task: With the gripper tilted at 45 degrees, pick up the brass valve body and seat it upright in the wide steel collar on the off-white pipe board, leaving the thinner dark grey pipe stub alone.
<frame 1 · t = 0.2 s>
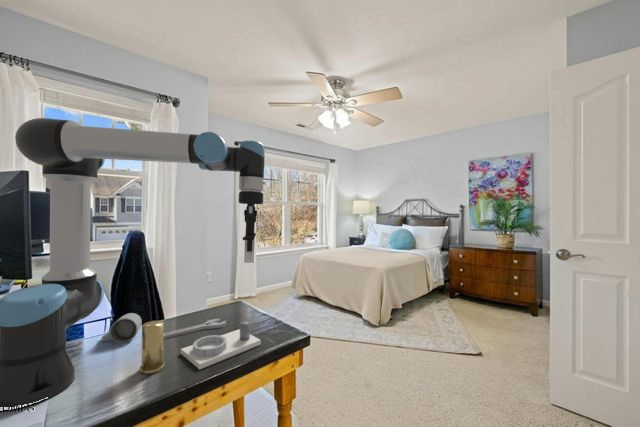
hand: (249, 259, 90), 28 cm above the table, tool pointing down, fingers open, 13 cm apart
pipe board: (222, 349, 88), on the table
ceramic mug: (122, 339, 94), on the table
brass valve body: (152, 368, 77), on the table
adjustable wrench: (189, 332, 101), on the table
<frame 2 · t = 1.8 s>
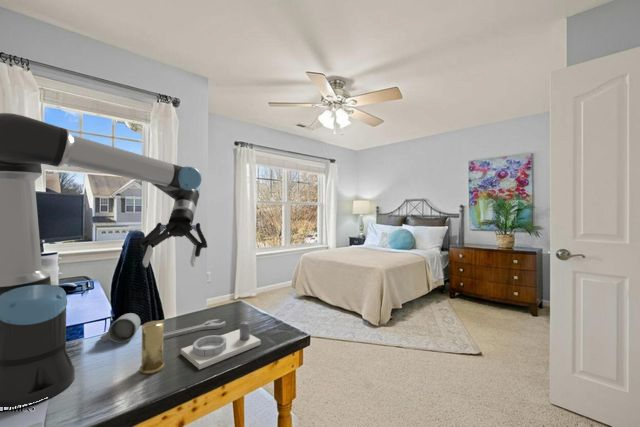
hand: (168, 264, 89), 26 cm above the table, tool tilted 45°, fingers open, 13 cm apart
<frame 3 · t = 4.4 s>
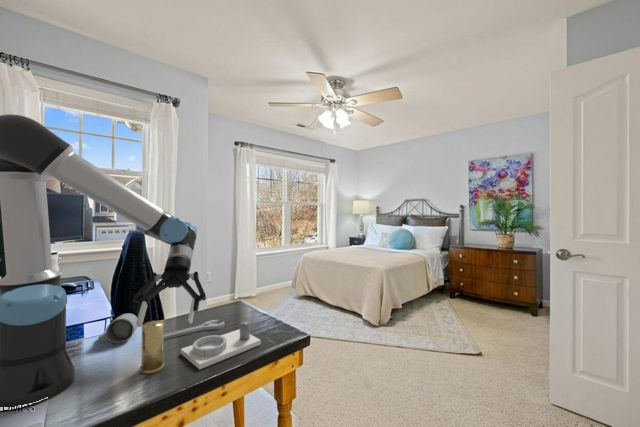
hand: (165, 323, 83), 10 cm above the table, tool tilted 45°, fingers open, 13 cm apart
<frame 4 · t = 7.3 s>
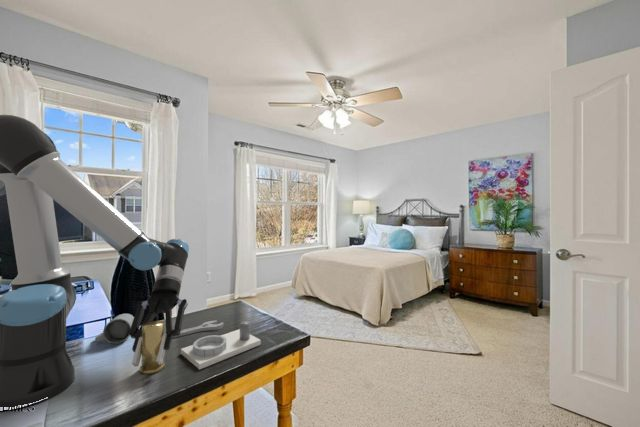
hand: (147, 363, 73), 3 cm above the table, tool tilted 45°, fingers closed on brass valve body, 5 cm apart
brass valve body: (152, 368, 77), on the table, touching gripper
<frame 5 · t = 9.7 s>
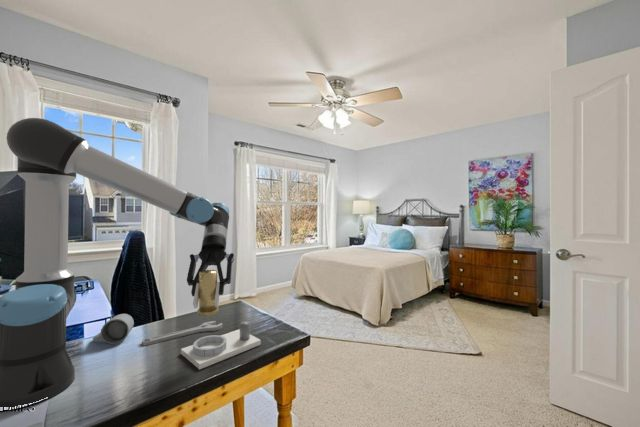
hand: (205, 305, 81), 16 cm above the table, tool tilted 45°, fingers closed on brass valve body, 5 cm apart
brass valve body: (208, 311, 85), point 13 cm above the table, touching gripper
when the fingers open (6 cm above the table, at t = 12.2 s): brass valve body drops 1 cm, resting on pipe board.
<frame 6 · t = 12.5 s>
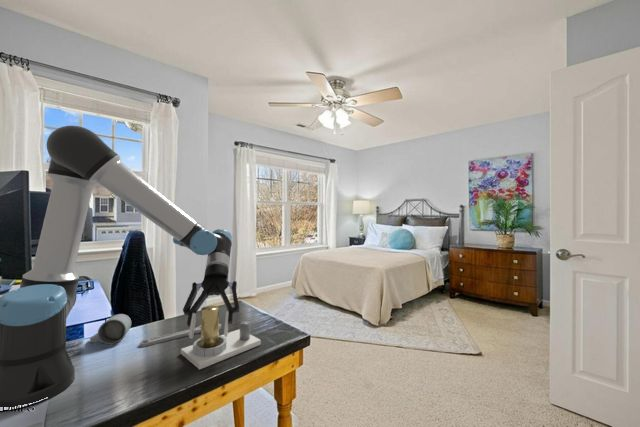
hand: (208, 335, 82), 7 cm above the table, tool tilted 45°, fingers open, 9 cm apart
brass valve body: (209, 348, 85), point 2 cm above the table, touching pipe board
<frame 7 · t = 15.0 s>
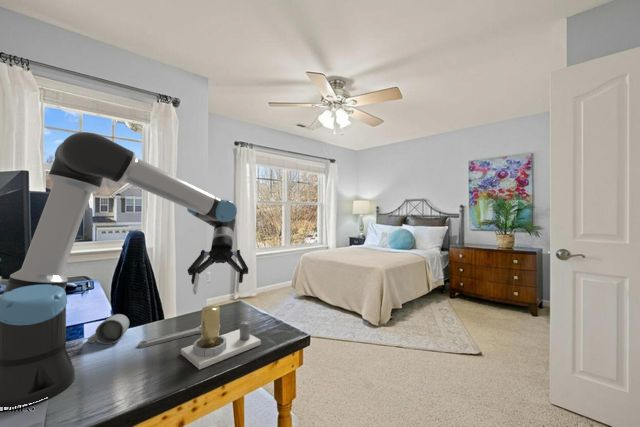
hand: (216, 291, 96), 16 cm above the table, tool tilted 45°, fingers open, 13 cm apart
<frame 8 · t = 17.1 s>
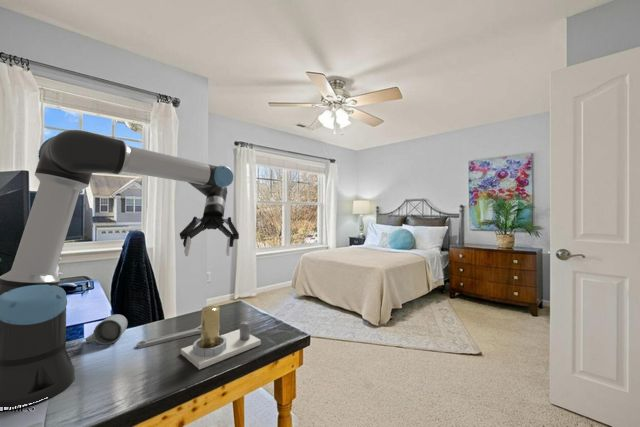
hand: (207, 253, 99), 28 cm above the table, tool tilted 45°, fingers open, 13 cm apart
at the end: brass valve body 0.1 cm from the target spot, point 1.6 cm above the table; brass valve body tilted 1°; the gripper is holding nothing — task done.
